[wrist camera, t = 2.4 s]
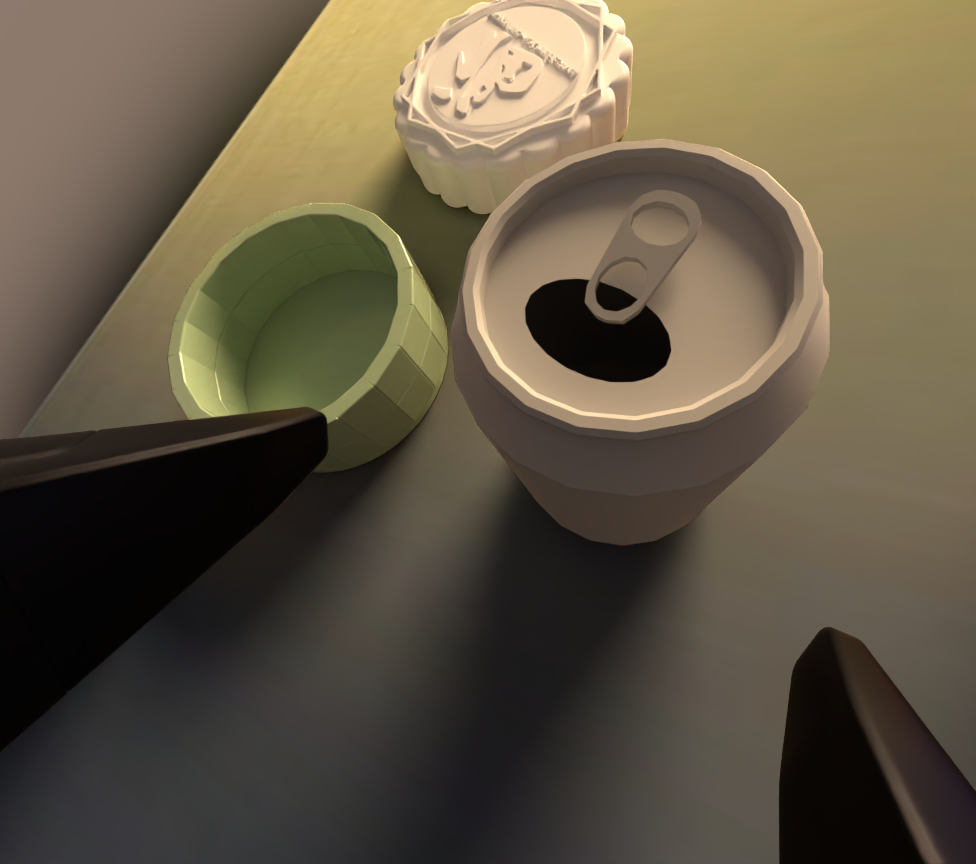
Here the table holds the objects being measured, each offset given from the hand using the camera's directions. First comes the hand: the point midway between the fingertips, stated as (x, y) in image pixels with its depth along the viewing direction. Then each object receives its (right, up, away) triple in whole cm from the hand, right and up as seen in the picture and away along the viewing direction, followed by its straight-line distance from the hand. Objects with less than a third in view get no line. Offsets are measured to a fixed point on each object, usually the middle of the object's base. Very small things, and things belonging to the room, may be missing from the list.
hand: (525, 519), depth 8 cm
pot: (-8, +5, +16) cm, 18 cm away
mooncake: (+1, +18, +18) cm, 26 cm away
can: (+5, +1, +11) cm, 12 cm away
